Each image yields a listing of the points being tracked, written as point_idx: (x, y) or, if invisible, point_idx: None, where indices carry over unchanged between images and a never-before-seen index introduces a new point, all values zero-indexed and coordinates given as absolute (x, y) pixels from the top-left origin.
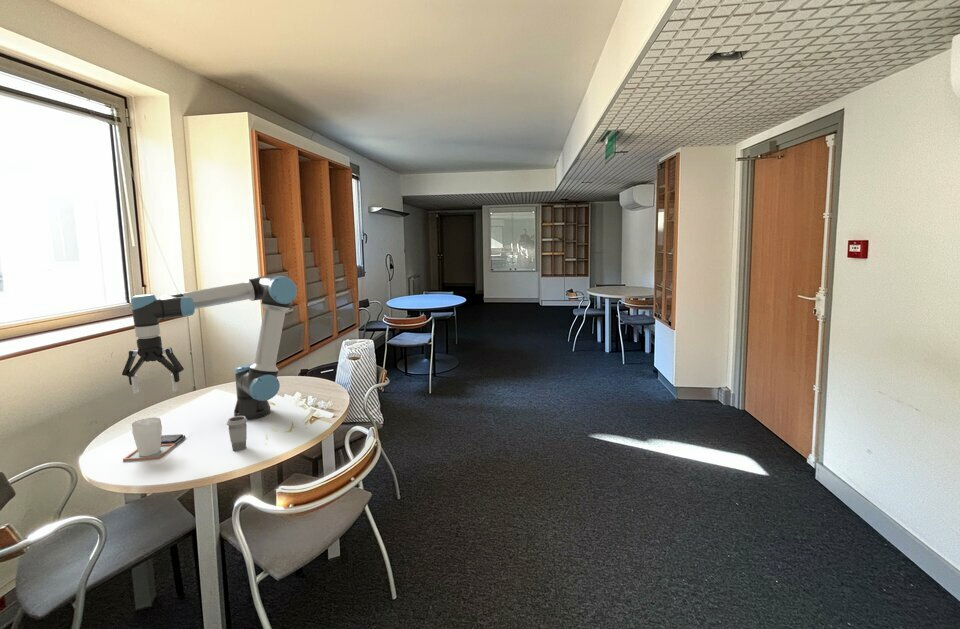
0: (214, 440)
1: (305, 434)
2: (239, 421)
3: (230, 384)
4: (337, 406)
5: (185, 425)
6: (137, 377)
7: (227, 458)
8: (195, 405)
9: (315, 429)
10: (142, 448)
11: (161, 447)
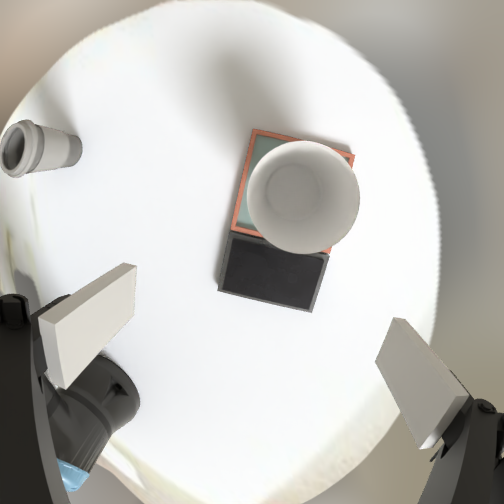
0: (133, 234)
1: None
2: (9, 128)
3: None
4: None
5: (245, 384)
6: (412, 432)
7: (89, 96)
8: (254, 478)
9: None
10: (306, 159)
11: None
